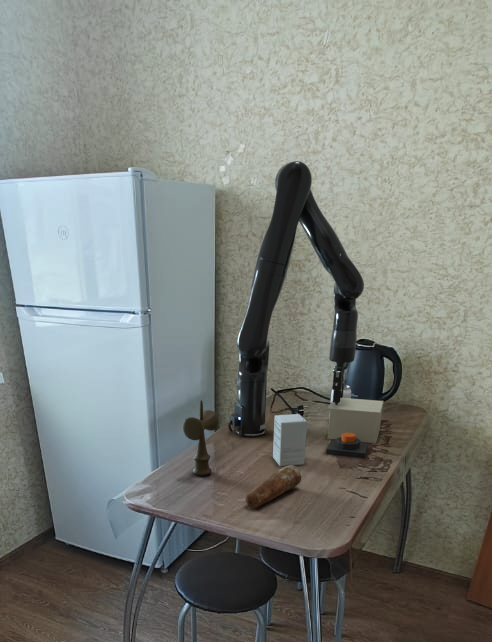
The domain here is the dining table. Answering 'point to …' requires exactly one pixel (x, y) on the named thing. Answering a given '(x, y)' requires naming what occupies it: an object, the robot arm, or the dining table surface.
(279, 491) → the bread
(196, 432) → the kendama
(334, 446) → the button block
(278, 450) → the white packaging box
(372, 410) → the box lid
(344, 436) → the release button
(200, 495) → the dining table surface
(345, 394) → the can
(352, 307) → the robot arm
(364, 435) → the hinged lid box
